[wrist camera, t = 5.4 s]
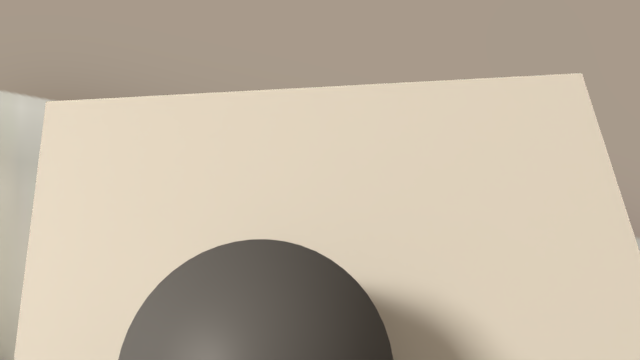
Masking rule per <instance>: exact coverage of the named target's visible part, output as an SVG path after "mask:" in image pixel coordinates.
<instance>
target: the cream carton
mask: <svg viewBox="0 0 640 360" xmlns="http://www.w3.org/2000/svg"><path fill="white" fill-rule="evenodd" d="M14 360H640V251H639V248H638V245H637V242H636V239H635V236H634V233H633V230H632V227H631V224H630V220H629V217H628V214H627V211H626V208H625V205H624V202H623V199H622V196H621V193H620V190H619V187H618V184H617V180H616V177H615V175H614V172H613V168H612V165H611V162H610V159H609V156H608V153H607V150H606V146H605V143H604V140H603V137H602V134H601V131H600V128H599V125H598V122H597V119H596V116H595V113H594V110H593V107H592V103H591V101H590V97H589V94H588V91H587V88H586V85H585V82H584V79H583V76H582V73H577V74H558V75H539V76H521V77H502V78H484V79H464V80H445V81H427V82H407V83H388V84H369V85H350V86H332V87H313V88H295V89H276V90H257V91H237V92H219V93H202V94H181V95H162V96H144V97H125V98H105V99H88V100H69V101H49V102H46V107H45V115H44V123H43V131H42V139H41V147H40V155H39V163H38V171H37V179H36V187H35V195H34V203H33V211H32V219H31V227H30V235H29V243H28V251H27V259H26V267H25V275H24V283H23V291H22V299H21V307H20V315H19V323H18V331H17V339H16V347H15V355H14Z"/></svg>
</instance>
